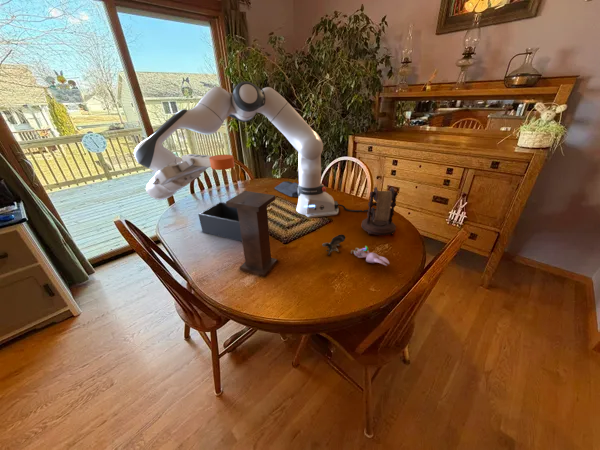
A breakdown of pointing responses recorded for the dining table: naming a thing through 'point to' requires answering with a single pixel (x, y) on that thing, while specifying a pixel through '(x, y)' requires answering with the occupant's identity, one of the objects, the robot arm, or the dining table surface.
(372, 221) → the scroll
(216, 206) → the compartment
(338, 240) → the grey animal figurine
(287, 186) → the dark slate chunk
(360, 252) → the rabbit figure
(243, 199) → the stand
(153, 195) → the robot arm
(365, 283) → the dining table surface
